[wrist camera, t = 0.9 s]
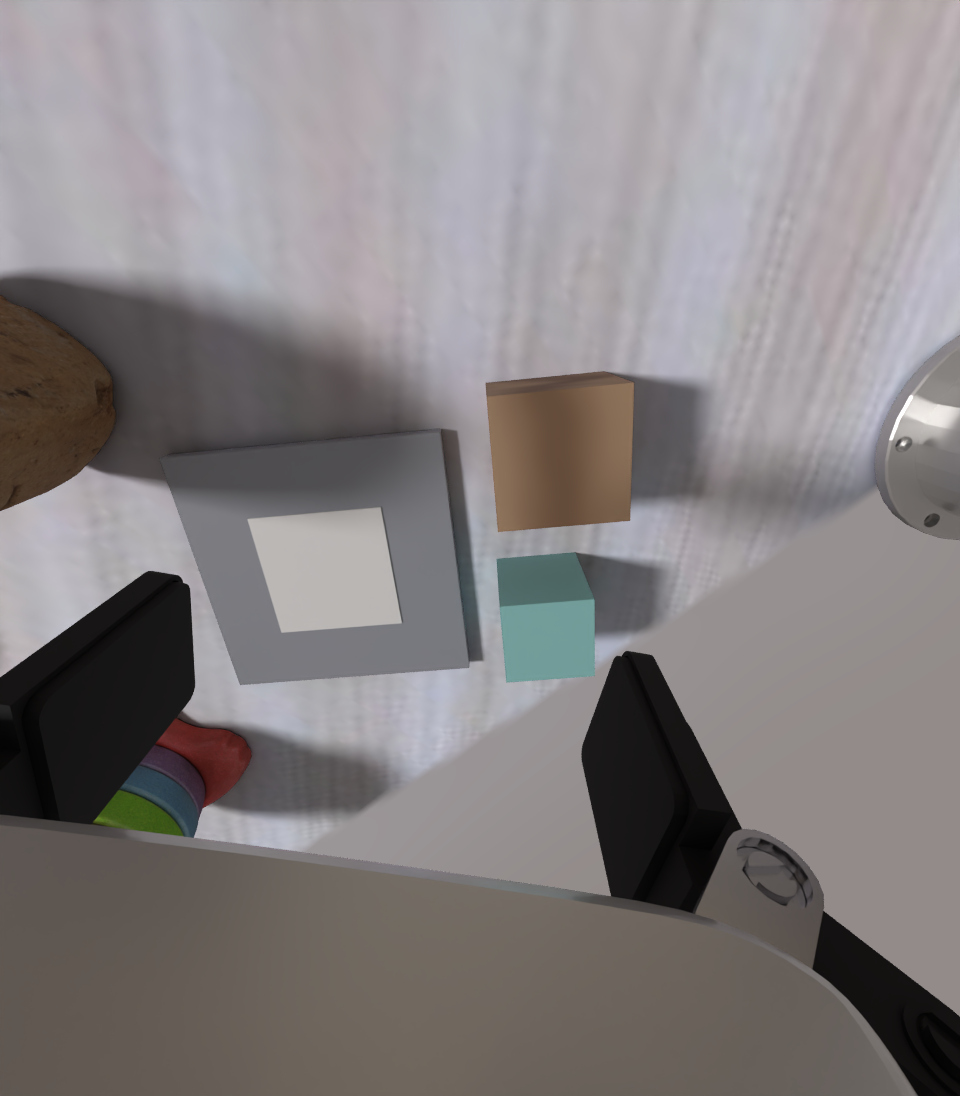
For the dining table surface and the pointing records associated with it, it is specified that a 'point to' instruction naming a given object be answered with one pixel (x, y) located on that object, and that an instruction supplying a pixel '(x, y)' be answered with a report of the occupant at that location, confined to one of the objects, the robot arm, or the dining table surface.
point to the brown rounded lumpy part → (47, 405)
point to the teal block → (546, 618)
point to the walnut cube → (561, 450)
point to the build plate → (326, 555)
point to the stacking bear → (177, 781)
